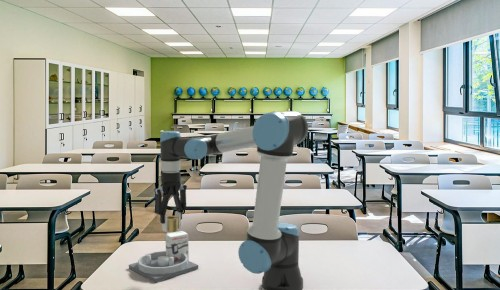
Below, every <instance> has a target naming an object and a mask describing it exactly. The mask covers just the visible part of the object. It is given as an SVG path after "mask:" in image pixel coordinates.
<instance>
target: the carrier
mask: <svg viewBox="0 0 500 290" xmlns="http://www.w3.org/2000/svg"><path fill="white" fill-rule="evenodd" d="M167 252H168V256H166V250H161V251H160V250H159V251H153V252H149V253H146V254H144V255H142V256H140V257H139V258H138V260H137V261H136V262H134V263H130V264H128V269H129V270H131V271H134V272H135V273H137V274H138V275H141V276H143V277H145V278H147V279H148V280H150V281H151V282H154V283H155V284H156V283H159V282H161V281H165V280H168V279H170V278H171V279H172V278H174V277H177V276H180V275H184V274H187V273H190V272H193V271H195V270H199V264H197V263H195V262H192V261H190V260H188V256H187V255H186V254H184V253H181V259H180V260H175V261H174V257H169V250H167Z"/></svg>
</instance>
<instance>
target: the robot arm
mask: <svg viewBox="0 0 500 290" xmlns="http://www.w3.org/2000/svg"><path fill="white" fill-rule="evenodd" d="M308 123H309V122H308V121H307V119H306V117H305V116H304V115H303V114H302V113H300V112H297V111H296V110H295V111H294V110H287V111H284V110H283V111H271V112H268V113H264V114H262V115H260V117H258V118H257V119H256V121H255V122H254V124H253V125H251V126H247V127H244V128H243V127H242V128H238V129H234V130H229V131H226V132H222V133H216V134H212V135H211V134H210V135H206V136H195V137H182V136H181V132H180V131H178V130H165V131H162V132H161V133H160V141H159V143H160V145H159V147H160V171H161V172H160V181H161V185H160V187H158V188H154V190H153V191H154V194H155V206H154V207H155V209H154V212H155V215H159V221H160V224H161V230H162V232H165V233H169V232H168V229H167V216H168V214H166V212H167V209H168V205H169V200H170V198H171V196H172V197H173V201H174V204H175V208H176V211H174V216H177V217H178V230H180V229H182V228H181V227H182V225H181V223H182V221H181V220H182V219H183V213H184V212H185V210H187V189H188V187H187V184H182V183H181V180H182V179H181V177H182V176H181V169H182V168H181V158H185V159H191V160H202V159H203V158H204V157H206V156H212V155H220V154H223V153H228V152H232V151H239V150H242V149H243V150H244V149H248V148H255V147H256V152H257V154H258V155H259V156H260V161H259V170H258V178H257V187H256V193H255V195H256V196H255V201H254V210H253V220H252V225H251V226H249V227H248V228H247V230H246V231H247V232H246V236H245V239H246V240H244V241H243V242H241V244H240V245H239V247H238V259H239V260H240V263H241V264H242V267H244V269H246V270H247V271H249V272H250V273H252V274H263V275H262V279H261V286H262V287H261V288H262V289H264V290H302V289H303V288H304V278H303V276H302V273H301V270H300V264H299V256H300V255H299V250H300V249H299V248H300V247H299V245H300V235H299V234H300V232H299V228H298V226H297V225H295V224H291V223H286V222H279V221H280V216H281V214H280V213H281V208H282V207H281V206H282V199H283V193H284V184H285V177H286V171H287V170H286V169H287V163H288V160H290V158H292V157H293V151H294V146H296V145H299V144H300V143H302V142H303V141H304V140H305V139H306V137H307V135H308V133H309V124H308Z"/></svg>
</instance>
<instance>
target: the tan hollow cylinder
mask: <svg viewBox="0 0 500 290" xmlns="http://www.w3.org/2000/svg"><path fill="white" fill-rule="evenodd" d="M167 229H168V232H167V233H174V232H179V229H178V217H177V216H175V215H167Z"/></svg>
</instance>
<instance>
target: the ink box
mask: <svg viewBox="0 0 500 290" xmlns="http://www.w3.org/2000/svg"><path fill="white" fill-rule="evenodd" d="M189 248H190V247H189V233H187V232H186V231H184V230H180V231H179V230H178V231H176V232H168V233H166V234H165V251H166V256H168V252H167V250H169V257H174V261H175V260H180V259H181V253H184V254H186V255H187V256H188V261H190V255H189Z"/></svg>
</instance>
